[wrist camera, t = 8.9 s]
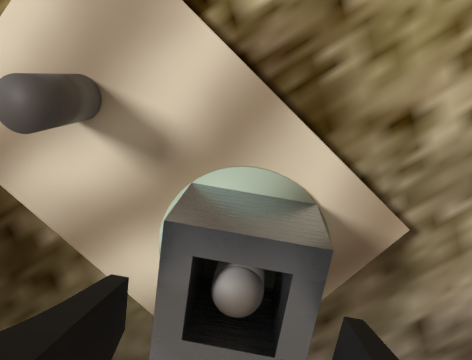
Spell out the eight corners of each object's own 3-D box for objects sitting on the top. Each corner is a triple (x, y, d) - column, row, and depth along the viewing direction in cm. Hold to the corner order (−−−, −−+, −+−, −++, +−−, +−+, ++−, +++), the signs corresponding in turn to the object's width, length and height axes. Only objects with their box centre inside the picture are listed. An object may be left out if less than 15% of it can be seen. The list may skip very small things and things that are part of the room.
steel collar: (177, 291, 18) (149, 359, 14) (191, 182, 17) (164, 220, 12) (292, 312, 18) (299, 388, 14) (316, 204, 16) (333, 250, 12)
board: (-54, 121, 18) (-187, 139, 13) (92, -91, 15) (-4, -182, 10) (227, 363, 21) (213, 462, 15) (402, 221, 18) (459, 283, 12)
